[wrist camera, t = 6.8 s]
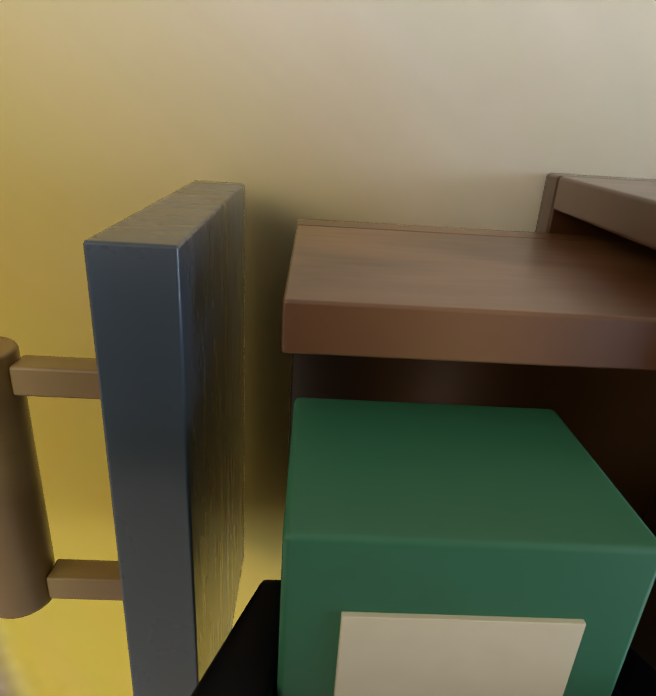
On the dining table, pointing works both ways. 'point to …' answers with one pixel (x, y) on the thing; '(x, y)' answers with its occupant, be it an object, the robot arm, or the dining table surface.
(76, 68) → the dining table surface
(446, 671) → the packet
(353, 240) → the drawer
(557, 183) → the cabinet
